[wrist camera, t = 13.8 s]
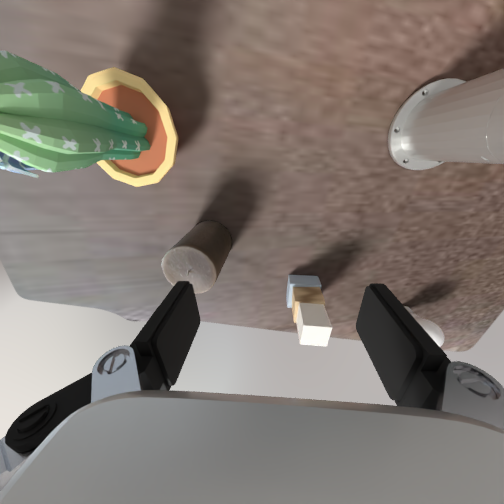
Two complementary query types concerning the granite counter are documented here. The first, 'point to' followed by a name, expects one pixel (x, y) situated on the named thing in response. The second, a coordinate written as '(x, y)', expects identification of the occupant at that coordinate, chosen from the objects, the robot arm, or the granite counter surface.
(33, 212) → the granite counter surface
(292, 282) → the tower base
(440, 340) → the lightbulb
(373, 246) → the granite counter surface
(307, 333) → the white block
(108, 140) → the potted cactus
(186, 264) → the pillar candle
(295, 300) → the tower mid
